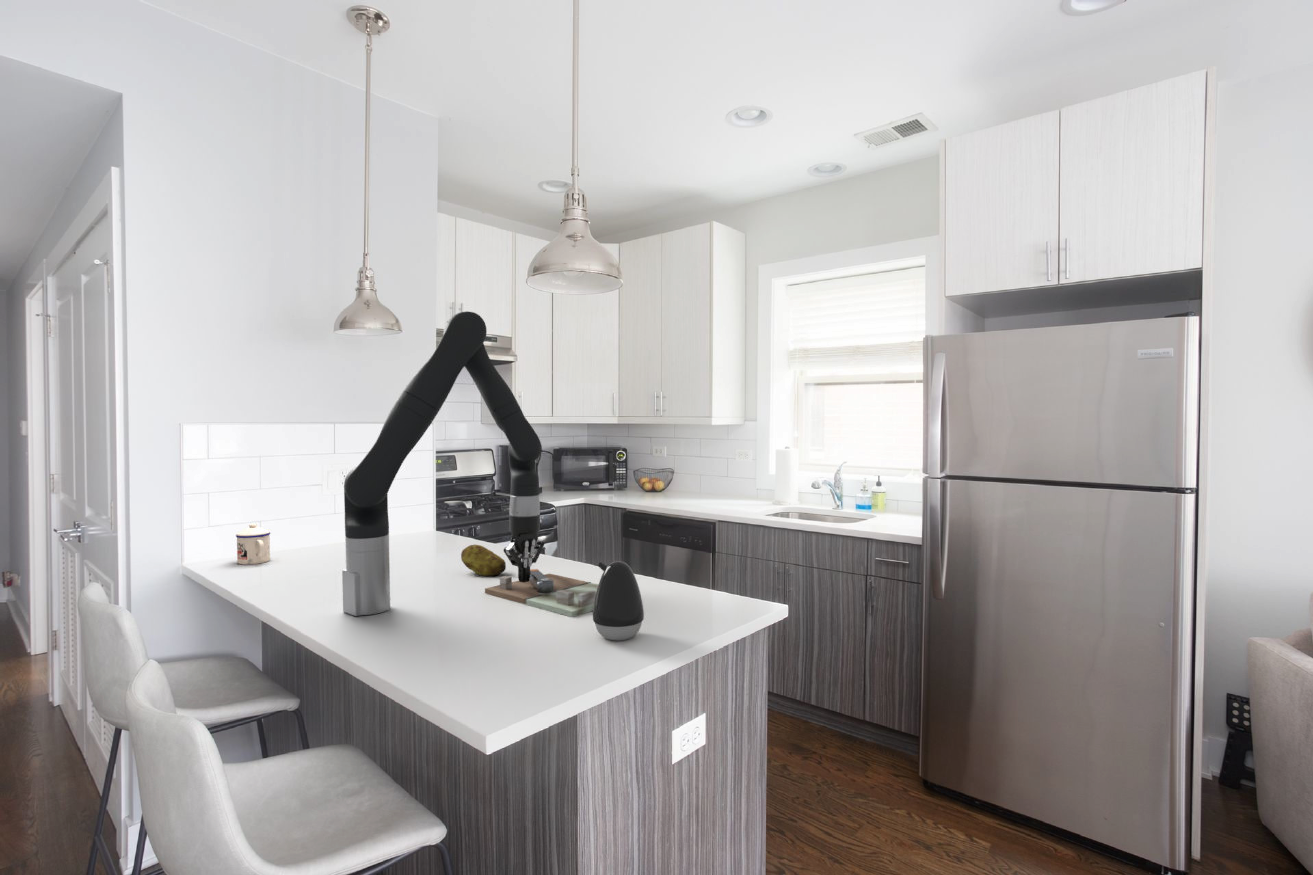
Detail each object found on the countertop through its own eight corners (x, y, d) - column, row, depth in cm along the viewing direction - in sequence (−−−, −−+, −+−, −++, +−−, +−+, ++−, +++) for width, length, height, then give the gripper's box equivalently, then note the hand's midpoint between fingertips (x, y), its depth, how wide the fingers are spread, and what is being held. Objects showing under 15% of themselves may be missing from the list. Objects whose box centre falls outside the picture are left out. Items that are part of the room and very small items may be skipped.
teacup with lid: (232, 562, 211) (231, 524, 211) (264, 557, 218) (263, 520, 217) (245, 567, 203) (244, 528, 203) (279, 562, 210) (278, 524, 209)
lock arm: (539, 593, 164) (538, 581, 164) (524, 580, 178) (524, 568, 178) (555, 592, 165) (555, 579, 165) (540, 578, 179) (540, 567, 179)
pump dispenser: (616, 625, 146) (615, 553, 145) (654, 635, 139) (653, 560, 138) (581, 637, 138) (580, 562, 137) (620, 648, 131) (619, 569, 131)
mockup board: (571, 617, 152) (571, 599, 151) (484, 593, 172) (484, 577, 172) (636, 597, 168) (635, 581, 167) (549, 577, 188) (549, 563, 188)
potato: (485, 580, 186) (485, 550, 186) (456, 573, 194) (456, 545, 194) (509, 574, 193) (509, 546, 192) (480, 568, 201) (480, 541, 200)
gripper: (517, 517, 165) (517, 589, 166) (553, 511, 176) (552, 578, 177) (494, 514, 169) (494, 584, 170) (531, 508, 180) (530, 574, 181)
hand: (524, 581), depth 173 cm, fingers closed
